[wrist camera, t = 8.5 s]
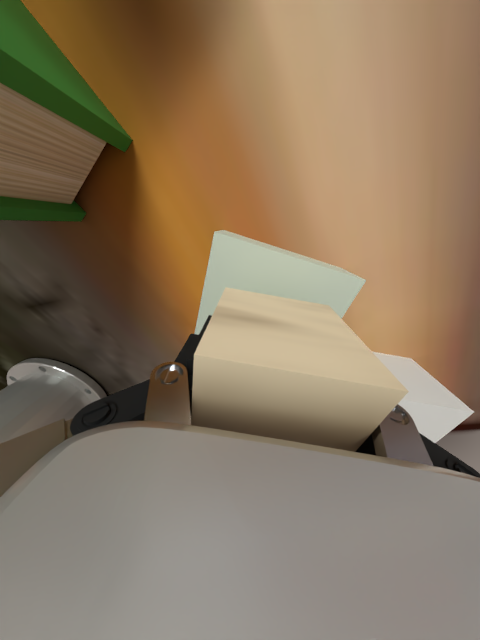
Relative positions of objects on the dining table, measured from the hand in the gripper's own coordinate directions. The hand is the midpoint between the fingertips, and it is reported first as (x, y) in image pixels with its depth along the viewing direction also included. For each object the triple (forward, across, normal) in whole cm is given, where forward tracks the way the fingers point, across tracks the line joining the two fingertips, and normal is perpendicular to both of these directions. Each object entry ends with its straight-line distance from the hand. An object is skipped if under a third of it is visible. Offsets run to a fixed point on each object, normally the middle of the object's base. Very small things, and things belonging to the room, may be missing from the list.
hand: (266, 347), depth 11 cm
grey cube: (+7, -13, +6) cm, 16 cm away
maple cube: (+1, 0, 0) cm, 1 cm away
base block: (+7, 0, 0) cm, 7 cm away
